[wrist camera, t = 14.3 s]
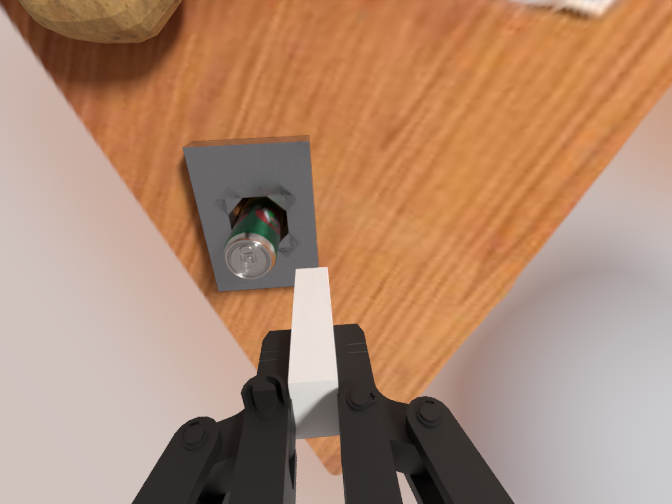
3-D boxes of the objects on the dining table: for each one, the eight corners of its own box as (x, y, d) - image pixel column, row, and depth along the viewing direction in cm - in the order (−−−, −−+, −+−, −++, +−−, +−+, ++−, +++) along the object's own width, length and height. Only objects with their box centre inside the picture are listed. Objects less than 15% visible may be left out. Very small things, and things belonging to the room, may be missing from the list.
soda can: (248, 233, 43) (229, 286, 33) (238, 196, 41) (214, 240, 30) (287, 228, 43) (280, 279, 33) (279, 191, 41) (269, 232, 30)
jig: (193, 141, 37) (182, 147, 34) (309, 135, 38) (309, 141, 35) (224, 276, 46) (218, 291, 43) (319, 270, 47) (319, 284, 44)
